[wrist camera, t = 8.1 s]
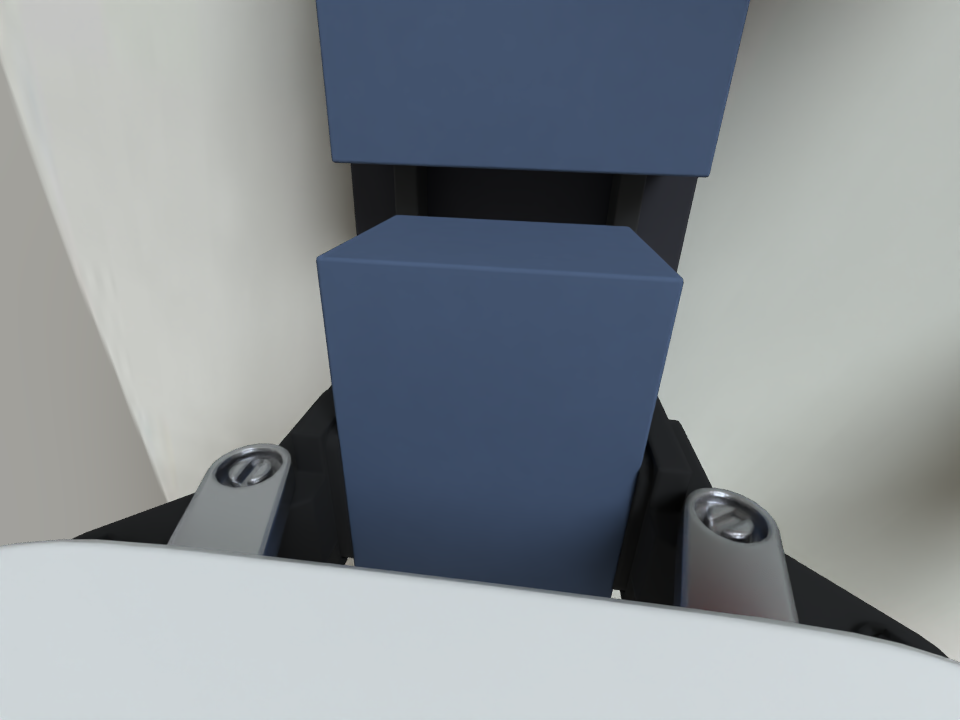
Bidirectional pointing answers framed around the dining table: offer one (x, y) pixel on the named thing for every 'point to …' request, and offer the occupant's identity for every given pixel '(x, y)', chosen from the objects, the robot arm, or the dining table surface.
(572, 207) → the pad base
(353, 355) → the loose pad
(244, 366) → the dining table surface
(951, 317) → the dining table surface
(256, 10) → the dining table surface
